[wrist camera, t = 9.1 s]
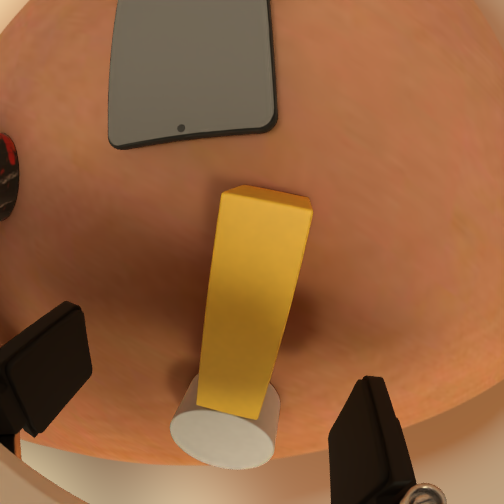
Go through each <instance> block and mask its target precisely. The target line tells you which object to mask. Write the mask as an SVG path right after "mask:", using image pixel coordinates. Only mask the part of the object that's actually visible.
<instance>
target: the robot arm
mask: <svg viewBox="0 0 504 504" xmlns="http://www.w3.org/2000/svg"><path fill="white" fill-rule="evenodd" d="M91 374H92V363H91V358H90V352H89V346H88V340H87V333H86V326H85V318H84V313H83V312H82V310H81V308H80V306H78V305H76V304H73V303H71V302H68V301H65V302H63V303H61V304H60V305H58V306H57V307H56V308H54V309H53V310H51V311H50V312H49V313H47V314H46V315H44V316H43V317H41V318H40V319H39V320H37V321H36V322H35V323H33V324H32V325H30V326H29V327H28V328H26V329H25V330H24V331H22V332H21V333H20V334H18V335H17V336H16V337H14V338H13V339H12V340H10V341H9V342H8V343H6V344H5V345H4V346H2V347H1V348H0V504H88V503H87V502H85V501H83V500H81V499H79V498H78V497H76V496H74V495H72V494H70V493H69V492H67V491H65V490H64V489H62V488H61V487H59V486H57V485H56V484H54V483H53V482H51V481H50V480H48V479H47V478H45V477H44V476H42V475H41V474H39V473H38V472H37V471H35V470H34V469H32V468H31V467H30V466H28V465H27V464H26V463H24V462H23V461H22V460H21V447H20V430H21V429H22V428H23V429H24V430H25V431H26V432H27V433H29V434H30V435H31V436H33V437H34V438H35V437H36V436H37V434H38V433H42V432H43V431H44V430H45V429H46V428H47V427H48V426H49V424H50V423H51V422H52V421H53V420H54V418H55V417H56V416H57V415H58V414H59V412H60V411H61V410H62V409H63V408H64V407H65V405H66V404H67V403H68V402H69V401H70V400H71V398H72V397H73V396H74V395H75V394H76V393H77V391H78V390H79V389H80V388H81V387H82V386H83V384H84V383H85V382H86V381H87V380H88V379H89V378H90V376H91ZM328 443H329V462H330V484H331V485H330V486H331V504H447V501H446V497H445V495H444V493H443V492H442V491H441V489H439V488H438V487H436V486H435V485H432V484H429V483H421V484H416V479H415V476H414V471H413V468H412V464H411V460H410V457H409V454H408V449H407V446H406V442H405V439H404V435H403V432H402V429H401V425H400V422H399V420H398V418H396V416H395V413H394V410H393V407H392V403H391V400H390V397H389V394H388V391H387V388H386V385H385V382H384V380H383V378H382V377H374V376H364V377H363V379H362V380H358V381H357V382H356V384H355V386H354V388H353V390H352V392H351V394H350V396H349V398H348V400H347V401H346V403H345V405H344V407H343V409H342V411H341V413H340V414H339V416H338V418H337V420H336V421H335V423H334V425H333V427H332V428H331V430H330V433H329V437H328Z"/></svg>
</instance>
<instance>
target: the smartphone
mask: <svg viewBox="0 0 504 504" xmlns="http://www.w3.org/2000/svg"><path fill="white" fill-rule="evenodd" d="M277 119H278V110H277V92H276V76H275V60H274V46H273V33H272V21H271V9H270V0H118V3H117V9H116V15H115V22H114V30H113V38H112V47H111V58H110V72H109V91H108V140H109V143H110V144H111V145H112V146H113V147H114V148H116V149H119V150H126V149H132V148H137V147H143V146H149V145H155V144H162V143H168V142H176V141H183V140H191V139H199V138H208V137H218V136H230V135H243V134H259V133H265V132H268V131H270V130H271V129H272V128H273V127H274V126H275V124H276V122H277Z"/></svg>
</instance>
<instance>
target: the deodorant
mask: <svg viewBox="0 0 504 504" xmlns="http://www.w3.org/2000/svg"><path fill="white" fill-rule="evenodd" d="M18 181H19V169H18V159H17V153H16V149H15V147H14V144H13V142H12V140H11V139H10V137H9V136H8V135H6V134H5V133H0V221H2V220H5V219H6V218H7V217H8V216H9V215H10V213H11V212H12V210H13V208H14V205H15V202H16V197H17V192H18Z"/></svg>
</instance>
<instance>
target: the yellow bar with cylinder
mask: <svg viewBox="0 0 504 504" xmlns="http://www.w3.org/2000/svg"><path fill="white" fill-rule="evenodd" d="M312 216H313V209H312V206H311V203H310V200H309V198H308V197H304V196H299V195H294V194H290V193H285V192H280V191H275V190H270V189H265V188H259V187H254V186H249V185H241V186H239V187H236V188H233V189H230V190H227V191H225V192H222V194H221V199H220V206H219V212H218V219H217V226H216V233H215V240H214V247H213V254H212V262H211V269H210V277H209V285H208V293H207V301H206V310H205V319H204V328H203V337H202V346H201V356H200V366H199V374H197V375H196V376H195V377H194V378H193V380H192V381H191V383H190V385H189V387H188V389H187V391H186V393H185V395H184V397H183V399H182V401H181V403H180V405H179V407H178V409H177V411H176V413H175V415H174V417H173V419H172V421H171V423H170V433H171V436H172V438H173V440H174V441H175V442H176V444H177V445H178V446H179V447H180V448H181V449H182V450H183V451H184V452H186V453H187V454H189V455H190V456H192V457H193V458H195V459H197V460H199V461H201V462H204V463H206V464H209V465H212V466H216V467H220V468H226V469H250V468H254V467H258V466H260V465H262V464H264V463H266V462H267V461H268V460H269V459H270V458H271V457H272V455H273V453H274V448H275V441H276V434H277V427H278V419H279V412H280V398H279V396H278V393H277V392H276V390H275V389H274V387H273V386H272V385H271V384H270V383H269V382H270V379H271V375H272V372H273V368H274V365H275V362H276V358H277V355H278V351H279V348H280V344H281V341H282V337H283V333H284V330H285V326H286V322H287V319H288V315H289V311H290V307H291V303H292V300H293V296H294V292H295V288H296V284H297V280H298V276H299V272H300V268H301V264H302V259H303V255H304V251H305V247H306V243H307V238H308V234H309V229H310V225H311V220H312Z"/></svg>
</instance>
